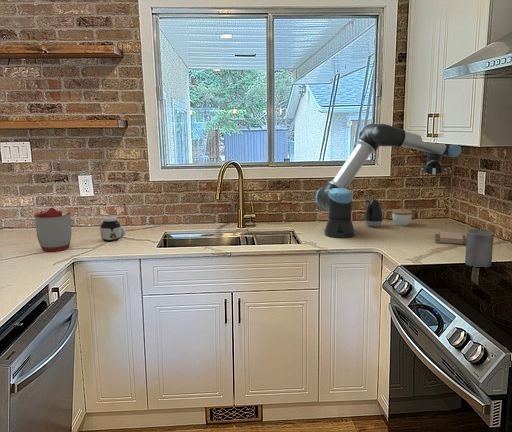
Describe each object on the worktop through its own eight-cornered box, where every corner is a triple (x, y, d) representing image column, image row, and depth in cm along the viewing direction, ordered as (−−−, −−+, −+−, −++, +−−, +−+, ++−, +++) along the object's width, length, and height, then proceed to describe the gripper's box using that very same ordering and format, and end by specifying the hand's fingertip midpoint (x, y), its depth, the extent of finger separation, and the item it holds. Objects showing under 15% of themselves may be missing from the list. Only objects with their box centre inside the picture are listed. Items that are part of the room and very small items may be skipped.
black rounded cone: (370, 223, 273) (371, 197, 270) (386, 225, 265) (387, 199, 262) (360, 225, 266) (360, 199, 263) (375, 228, 258) (377, 201, 256)
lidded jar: (406, 222, 274) (407, 206, 272) (414, 226, 263) (415, 209, 261) (388, 223, 272) (389, 207, 270) (396, 227, 262) (397, 210, 260)
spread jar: (100, 242, 236) (98, 219, 234) (102, 237, 247) (101, 215, 245) (125, 240, 239) (123, 218, 236) (126, 235, 249) (125, 214, 247)
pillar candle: (473, 259, 198) (476, 224, 196) (496, 265, 191) (499, 228, 188) (459, 264, 193) (462, 228, 190) (482, 270, 185) (485, 232, 182)
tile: (439, 231, 237) (440, 237, 225) (461, 233, 234) (463, 239, 222) (439, 236, 238) (440, 242, 226) (461, 237, 234) (462, 243, 222)
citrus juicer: (83, 246, 229) (80, 205, 225) (52, 255, 214) (47, 211, 210) (62, 242, 236) (58, 203, 233) (30, 250, 222) (26, 208, 218)
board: (435, 234, 243) (435, 233, 243) (465, 236, 238) (465, 235, 238) (435, 243, 226) (435, 241, 226) (467, 245, 222) (467, 244, 222)
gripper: (446, 174, 259) (447, 179, 237) (420, 174, 263) (420, 179, 242) (447, 161, 258) (448, 164, 236) (421, 160, 262) (420, 164, 240)
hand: (434, 171), depth 239 cm, fingers closed
